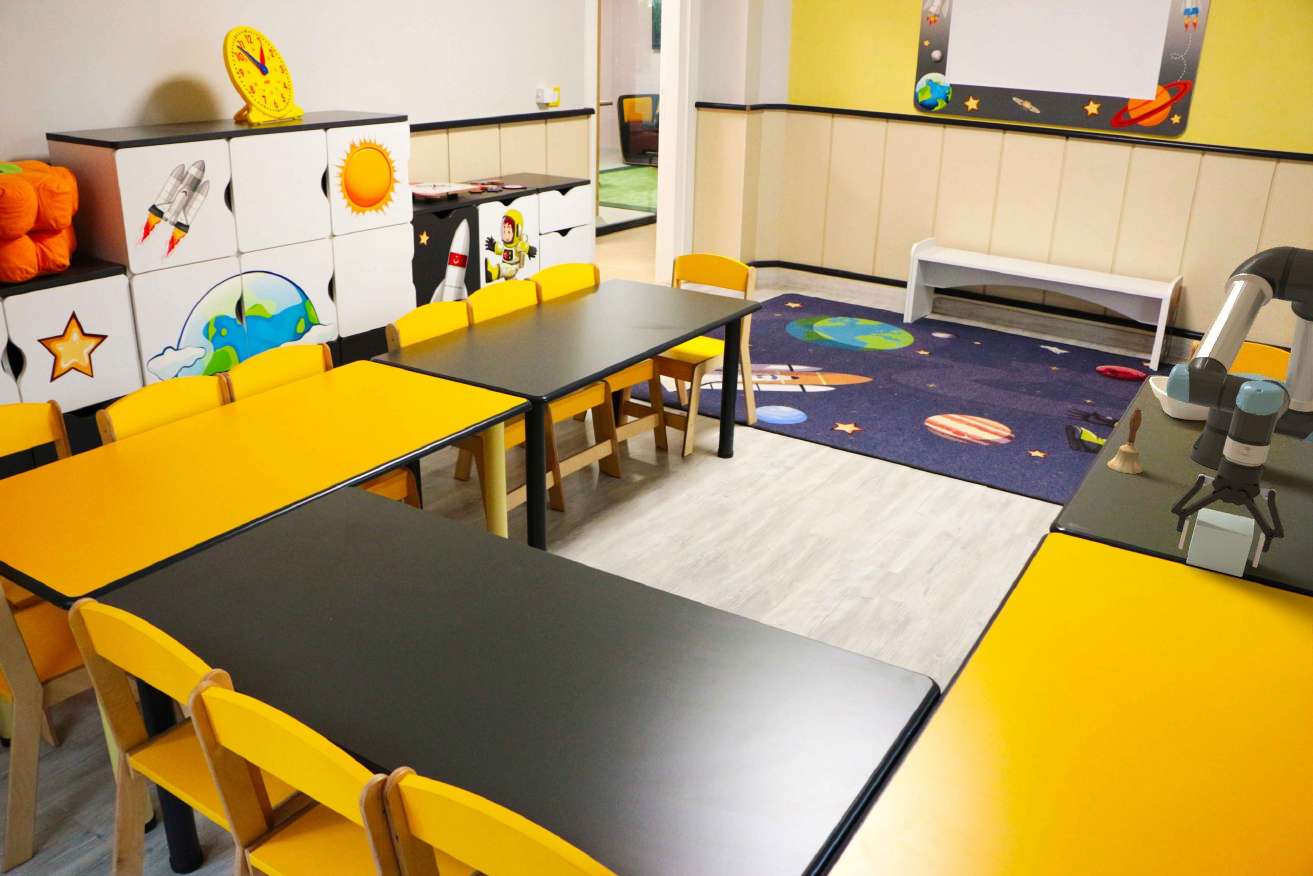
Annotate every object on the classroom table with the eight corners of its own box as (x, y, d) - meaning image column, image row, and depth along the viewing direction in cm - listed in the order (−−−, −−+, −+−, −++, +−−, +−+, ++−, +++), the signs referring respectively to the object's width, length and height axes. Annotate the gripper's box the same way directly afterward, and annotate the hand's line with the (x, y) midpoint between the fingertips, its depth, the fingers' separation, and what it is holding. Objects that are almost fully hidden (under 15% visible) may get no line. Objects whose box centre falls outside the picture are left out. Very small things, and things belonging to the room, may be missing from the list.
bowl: (1156, 424, 288) (1163, 396, 285) (1136, 401, 307) (1142, 374, 304) (1233, 431, 286) (1241, 402, 282) (1209, 407, 305) (1216, 380, 301)
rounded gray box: (1190, 544, 217) (1199, 507, 214) (1243, 557, 213) (1254, 519, 210) (1186, 563, 209) (1196, 524, 206) (1241, 577, 204) (1253, 537, 201)
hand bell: (1146, 476, 252) (1160, 415, 247) (1110, 472, 254) (1124, 412, 248) (1138, 463, 260) (1152, 404, 254) (1104, 459, 261) (1116, 401, 256)
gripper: (1172, 451, 203) (1149, 545, 211) (1317, 480, 192) (1286, 580, 199) (1175, 439, 209) (1153, 532, 217) (1316, 468, 198) (1287, 564, 205)
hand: (1217, 555), depth 208 cm, fingers open, 13 cm apart
